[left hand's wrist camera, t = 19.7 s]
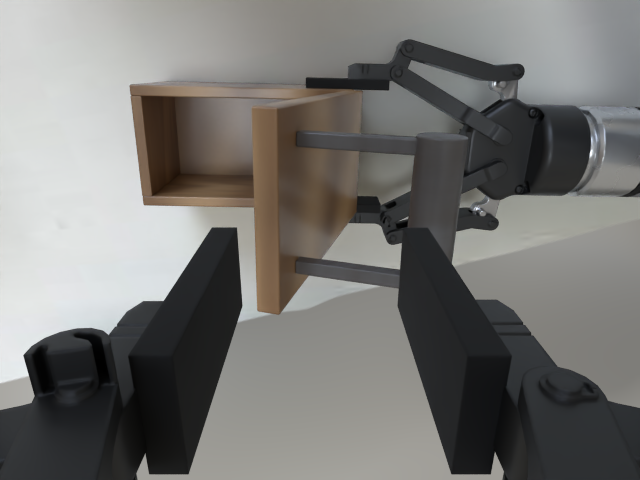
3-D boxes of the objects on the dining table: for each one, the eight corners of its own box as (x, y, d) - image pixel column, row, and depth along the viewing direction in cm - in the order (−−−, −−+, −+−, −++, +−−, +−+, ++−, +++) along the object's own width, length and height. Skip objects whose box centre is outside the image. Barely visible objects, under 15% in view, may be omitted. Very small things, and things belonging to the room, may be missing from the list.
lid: (256, 311, 22) (442, 343, 19) (250, 105, 18) (473, 116, 16) (342, 210, 37) (451, 222, 35) (347, 90, 34) (467, 94, 32)
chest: (175, 179, 46) (143, 205, 37) (166, 81, 43) (128, 84, 34) (342, 183, 46) (349, 209, 38) (346, 85, 43) (354, 90, 34)
